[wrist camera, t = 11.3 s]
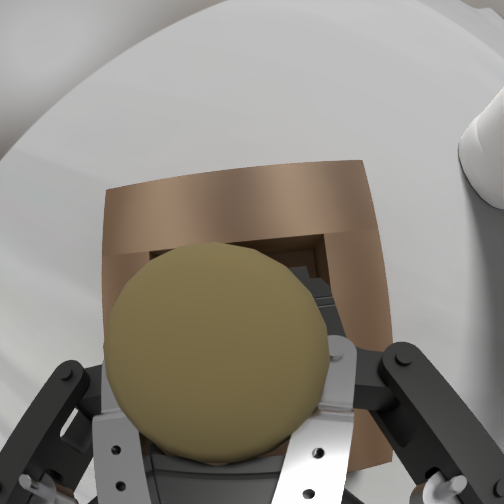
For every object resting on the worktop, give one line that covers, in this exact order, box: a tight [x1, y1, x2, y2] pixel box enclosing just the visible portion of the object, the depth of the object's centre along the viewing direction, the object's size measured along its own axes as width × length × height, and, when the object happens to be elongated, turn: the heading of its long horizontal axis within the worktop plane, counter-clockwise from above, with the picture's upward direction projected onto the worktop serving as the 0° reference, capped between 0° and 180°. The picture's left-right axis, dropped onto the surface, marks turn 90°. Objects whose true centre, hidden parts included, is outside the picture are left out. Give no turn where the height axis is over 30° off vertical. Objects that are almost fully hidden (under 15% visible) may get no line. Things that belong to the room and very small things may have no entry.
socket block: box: [102, 160, 393, 473], centre depth 15 cm, size 14×16×4 cm
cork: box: [103, 242, 330, 463], centre depth 10 cm, size 6×6×11 cm
